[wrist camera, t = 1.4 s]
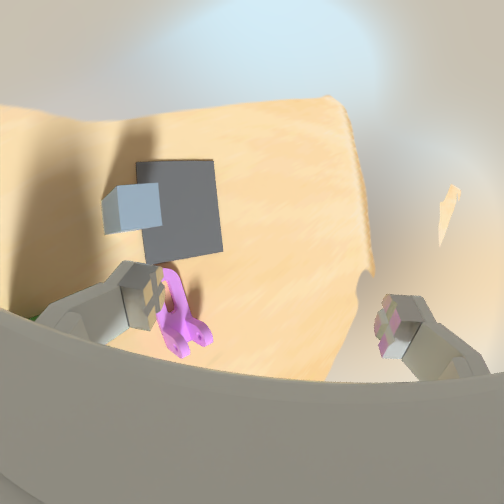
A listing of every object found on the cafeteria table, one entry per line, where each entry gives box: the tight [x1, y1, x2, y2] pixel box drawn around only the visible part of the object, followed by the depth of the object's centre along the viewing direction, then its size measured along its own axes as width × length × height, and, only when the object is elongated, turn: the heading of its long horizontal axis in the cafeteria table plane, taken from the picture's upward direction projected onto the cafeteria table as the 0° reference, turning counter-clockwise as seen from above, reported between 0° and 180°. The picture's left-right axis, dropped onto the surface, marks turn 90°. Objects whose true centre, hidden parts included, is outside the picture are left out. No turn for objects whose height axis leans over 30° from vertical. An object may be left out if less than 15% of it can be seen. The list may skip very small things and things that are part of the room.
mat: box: [136, 161, 223, 265], centre depth 47 cm, size 14×16×1 cm
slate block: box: [101, 183, 162, 235], centre depth 36 cm, size 5×5×12 cm
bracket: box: [156, 268, 213, 358], centre depth 43 cm, size 13×6×7 cm, turn 16°
